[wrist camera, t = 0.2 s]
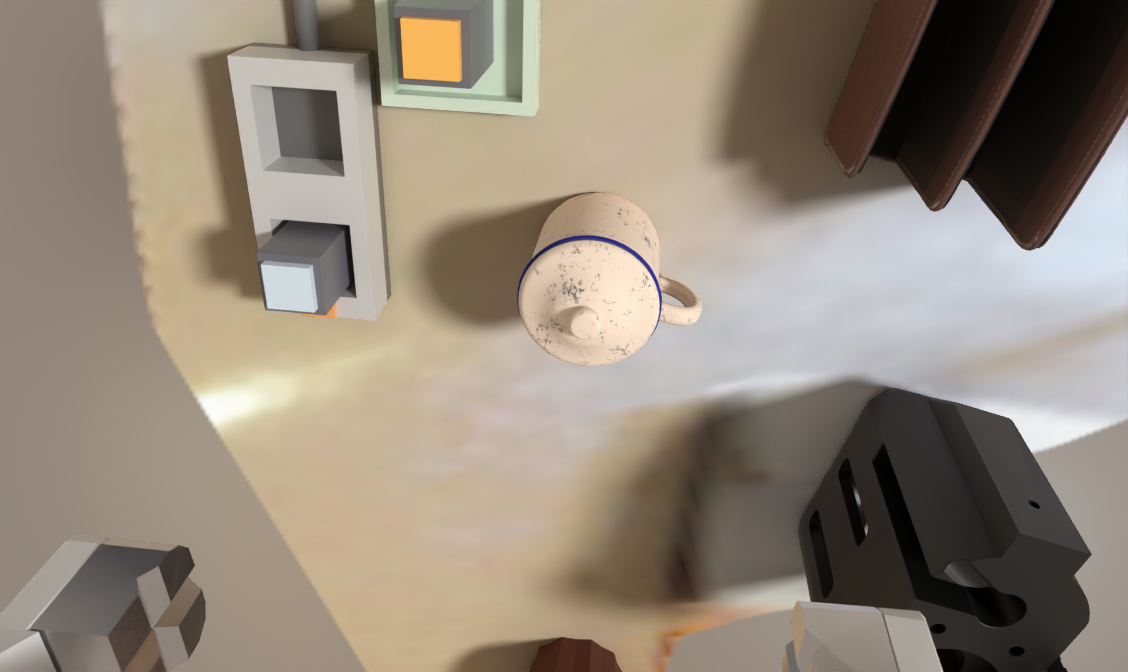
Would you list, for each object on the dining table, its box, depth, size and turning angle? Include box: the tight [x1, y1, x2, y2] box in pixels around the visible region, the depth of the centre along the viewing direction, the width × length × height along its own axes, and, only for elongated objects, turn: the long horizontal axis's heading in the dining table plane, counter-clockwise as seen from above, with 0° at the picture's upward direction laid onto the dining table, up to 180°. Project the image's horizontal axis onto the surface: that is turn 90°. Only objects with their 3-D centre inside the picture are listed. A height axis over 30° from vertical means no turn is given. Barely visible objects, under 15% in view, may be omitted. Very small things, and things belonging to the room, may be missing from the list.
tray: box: [374, 0, 541, 116], centre depth 52 cm, size 10×10×2 cm
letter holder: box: [824, 0, 1128, 251], centre depth 43 cm, size 10×20×14 cm, turn 168°
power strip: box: [227, 0, 391, 320], centre depth 56 cm, size 24×8×5 cm, turn 178°
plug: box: [394, 0, 494, 89], centre depth 49 cm, size 4×4×8 cm
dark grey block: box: [256, 220, 355, 316], centre depth 58 cm, size 4×4×8 cm
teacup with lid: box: [517, 193, 702, 366], centre depth 55 cm, size 12×9×12 cm
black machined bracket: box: [798, 388, 1092, 672], centre depth 57 cm, size 12×21×22 cm, turn 165°
